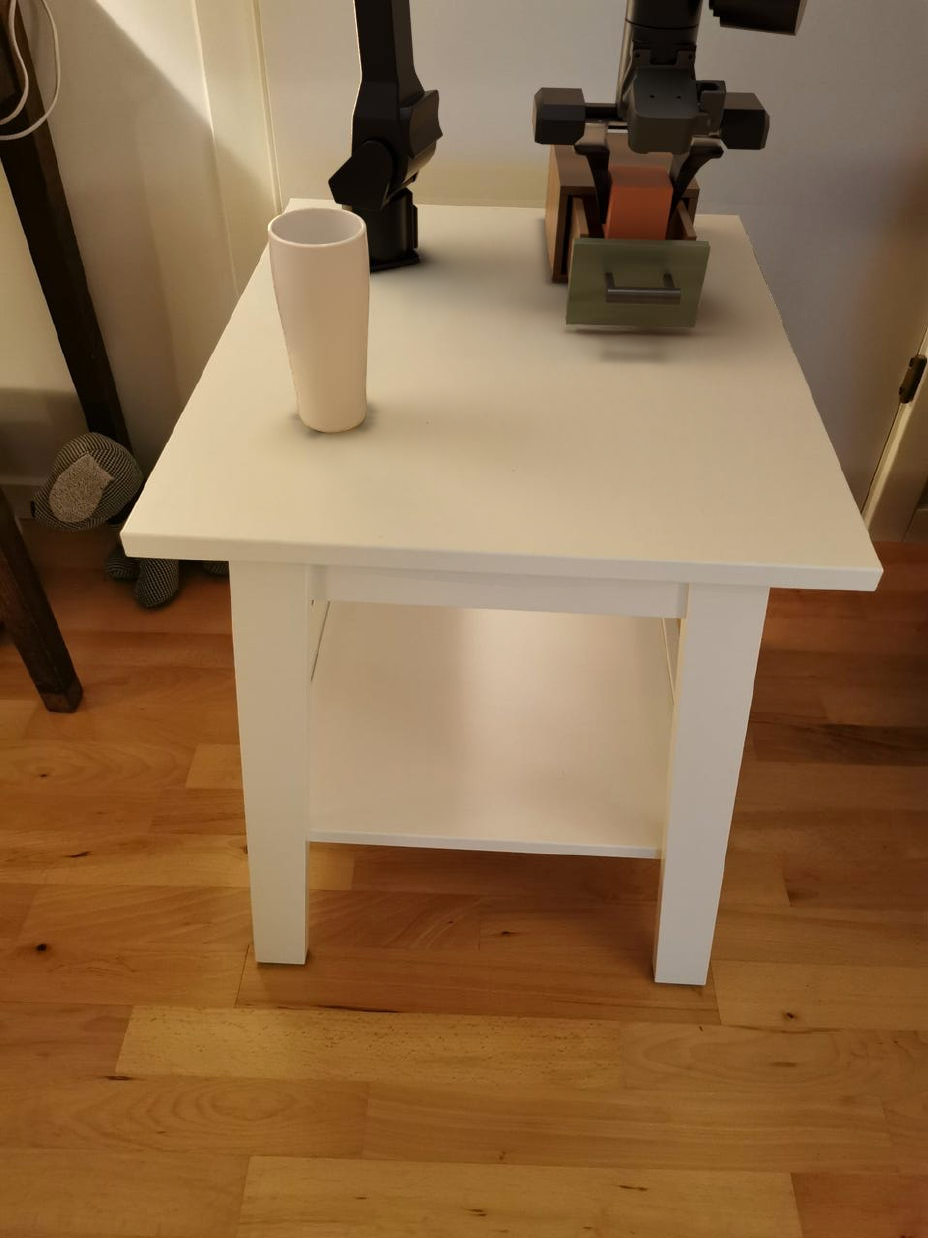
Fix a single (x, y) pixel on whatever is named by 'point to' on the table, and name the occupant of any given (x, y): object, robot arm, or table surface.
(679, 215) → the drawer
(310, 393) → the drinking glass
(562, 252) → the cabinet
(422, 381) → the table surface
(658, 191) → the block
